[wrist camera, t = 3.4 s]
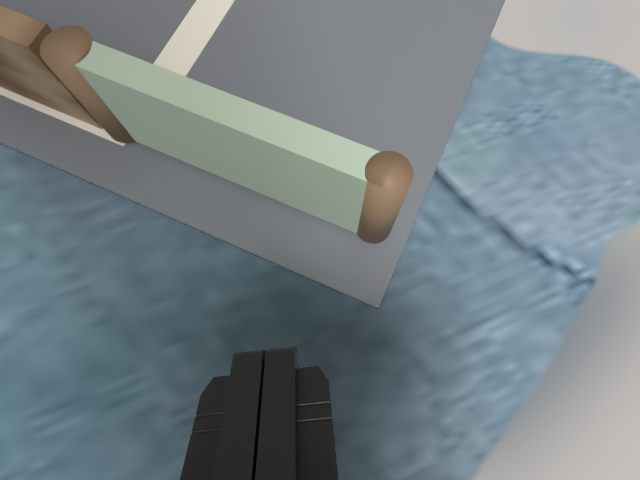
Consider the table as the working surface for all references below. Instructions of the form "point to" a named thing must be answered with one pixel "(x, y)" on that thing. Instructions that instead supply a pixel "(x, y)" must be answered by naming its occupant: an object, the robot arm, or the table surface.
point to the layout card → (281, 96)
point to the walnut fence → (33, 66)
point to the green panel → (232, 136)
